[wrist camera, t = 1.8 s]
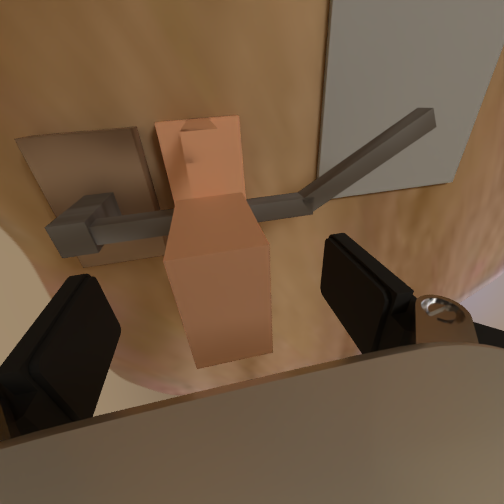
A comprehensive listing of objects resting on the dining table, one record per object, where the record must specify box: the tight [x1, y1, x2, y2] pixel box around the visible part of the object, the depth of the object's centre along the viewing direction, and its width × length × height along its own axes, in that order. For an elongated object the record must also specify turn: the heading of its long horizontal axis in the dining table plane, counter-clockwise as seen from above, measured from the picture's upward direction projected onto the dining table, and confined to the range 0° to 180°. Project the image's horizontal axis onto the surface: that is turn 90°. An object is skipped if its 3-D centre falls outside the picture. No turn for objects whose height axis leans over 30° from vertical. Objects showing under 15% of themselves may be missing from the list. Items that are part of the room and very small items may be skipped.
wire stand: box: [15, 108, 437, 268], centre depth 18 cm, size 10×26×8 cm, turn 94°
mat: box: [317, 0, 504, 198], centre depth 20 cm, size 17×15×1 cm
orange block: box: [155, 115, 273, 369], centre depth 15 cm, size 10×6×15 cm, turn 4°
